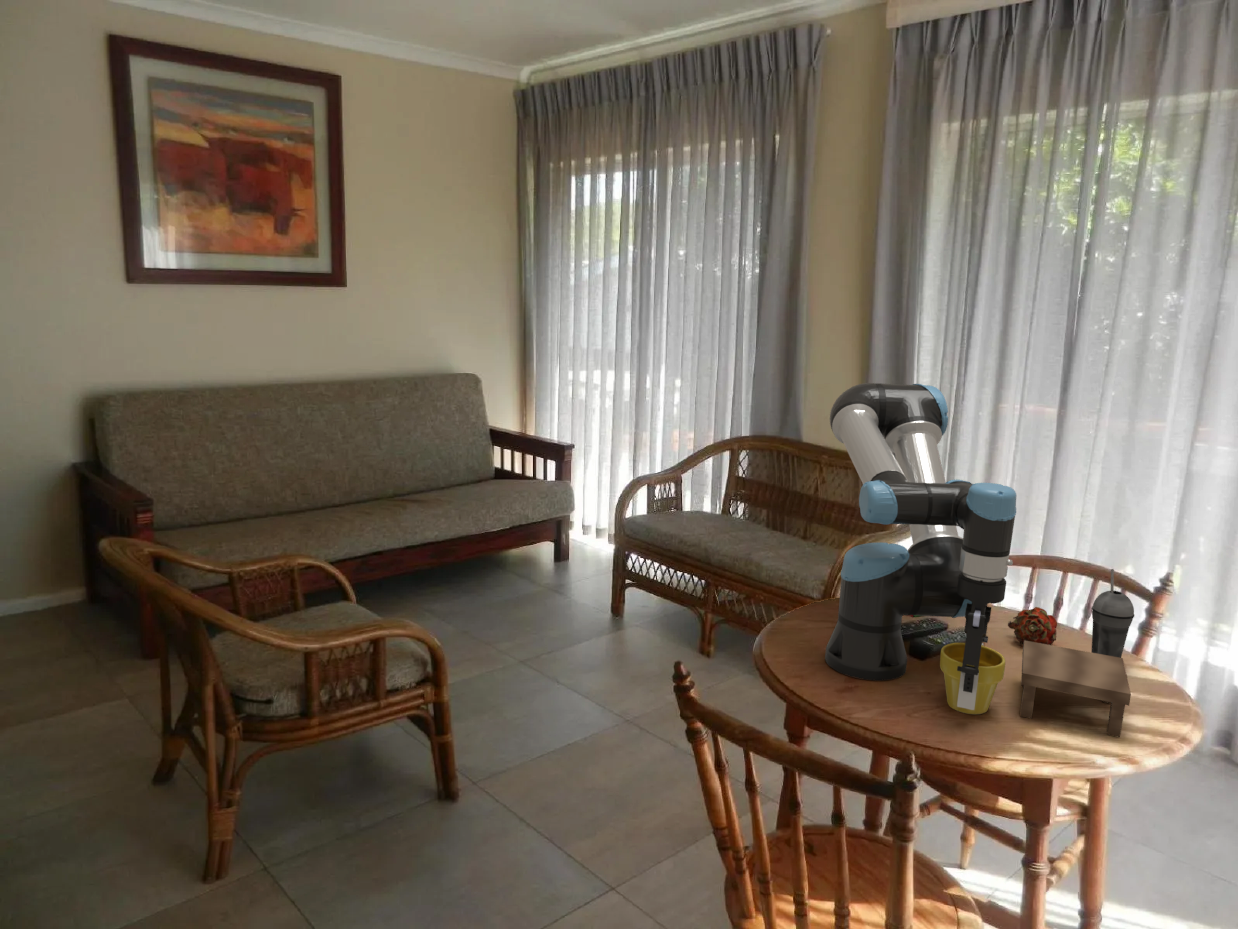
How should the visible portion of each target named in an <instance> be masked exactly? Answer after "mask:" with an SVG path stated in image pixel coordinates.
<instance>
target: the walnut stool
mask: <svg viewBox="0 0 1238 929" xmlns="http://www.w3.org/2000/svg"><path fill="white" fill-rule="evenodd" d="M1021 657H1022V659H1021V660H1022V661H1021V677H1020V678H1021V681H1020V684H1021V685H1020V686H1022V687H1023V690H1022V696H1021V704H1020V711H1019V712H1020V713H1019V716H1020V717H1022V718H1028V719H1033V718H1032V717H1033V711H1034V706H1035V705H1034V704H1035V698H1036V697H1035V696H1036V690H1037V689H1036V688H1039V689H1043V690H1050V691H1052V692H1053V691H1054V692H1059V693H1063V694H1064V693H1065V694H1067V695H1068V694H1070V695H1074V696H1079V697H1085V698H1087V699H1088V698H1089V699H1094V700H1099V701H1101V702H1102V703H1104V702H1108V703H1107V704H1109V703H1111V704H1110V708H1109V714H1108V720H1107V726H1106V732H1107V734H1108V735H1107V734H1106V735H1107V736H1112V737H1115V736H1118V737H1117V738H1121V734H1122V729H1123V728H1122V727H1123V720H1124V714H1125V708H1126V706H1130V704H1131V698H1132V697H1131V696H1132V693H1131V688H1130V685H1129V680H1128V675H1127V672H1126V666H1125V662H1124V658H1123V657H1121V658H1119V657H1113V656H1108V655H1102V654H1097V653H1091V651H1085V650H1079V649H1074V648H1068V647H1063V646H1057V645H1053V644H1052V645H1047V644H1041V643H1036V642H1030V641H1025V640H1024V643H1023V646H1022V656H1021Z"/></svg>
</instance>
